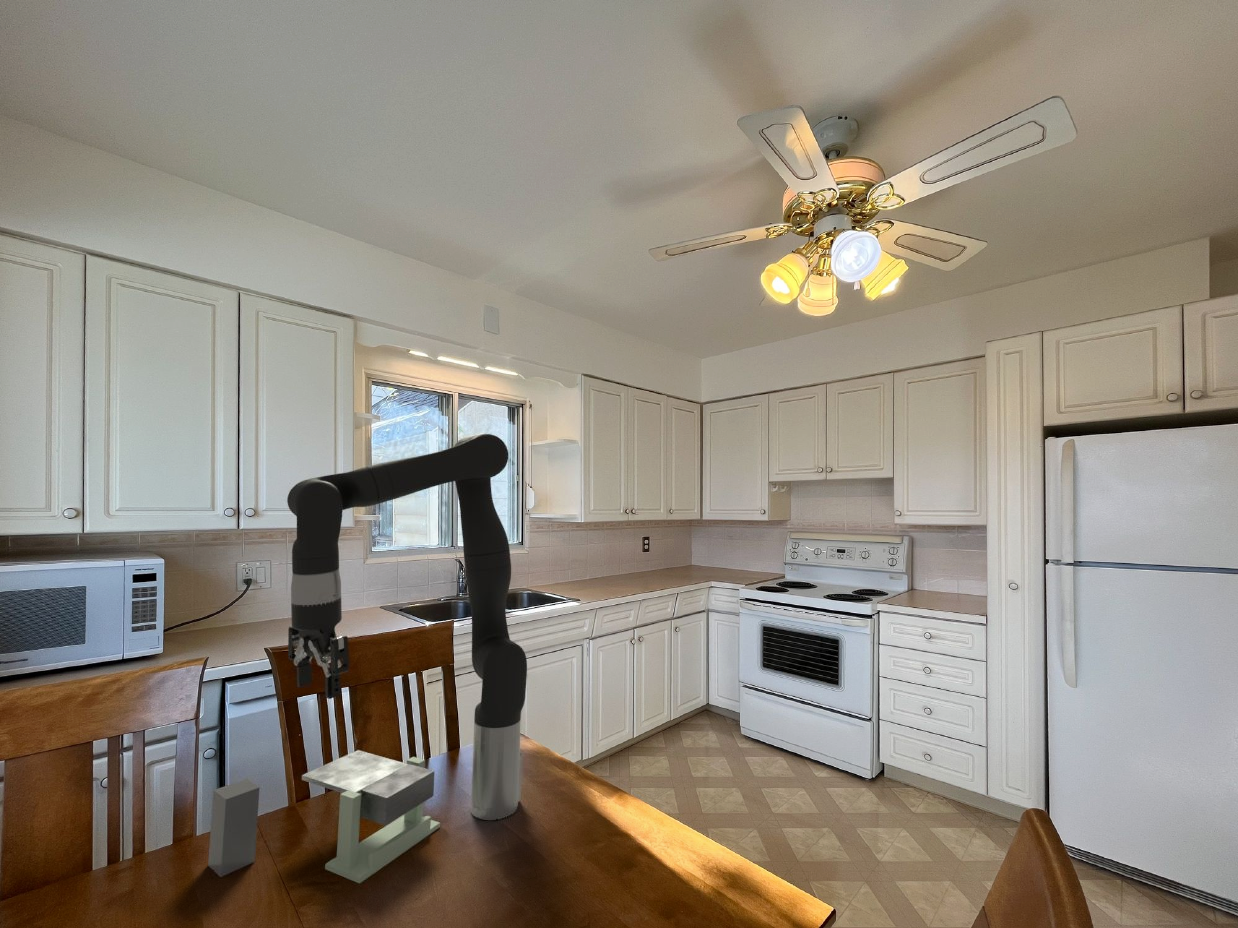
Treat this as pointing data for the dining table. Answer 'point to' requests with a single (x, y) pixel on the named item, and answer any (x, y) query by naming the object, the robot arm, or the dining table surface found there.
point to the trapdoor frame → (375, 837)
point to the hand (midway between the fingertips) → (318, 690)
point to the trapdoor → (377, 784)
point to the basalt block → (233, 827)
